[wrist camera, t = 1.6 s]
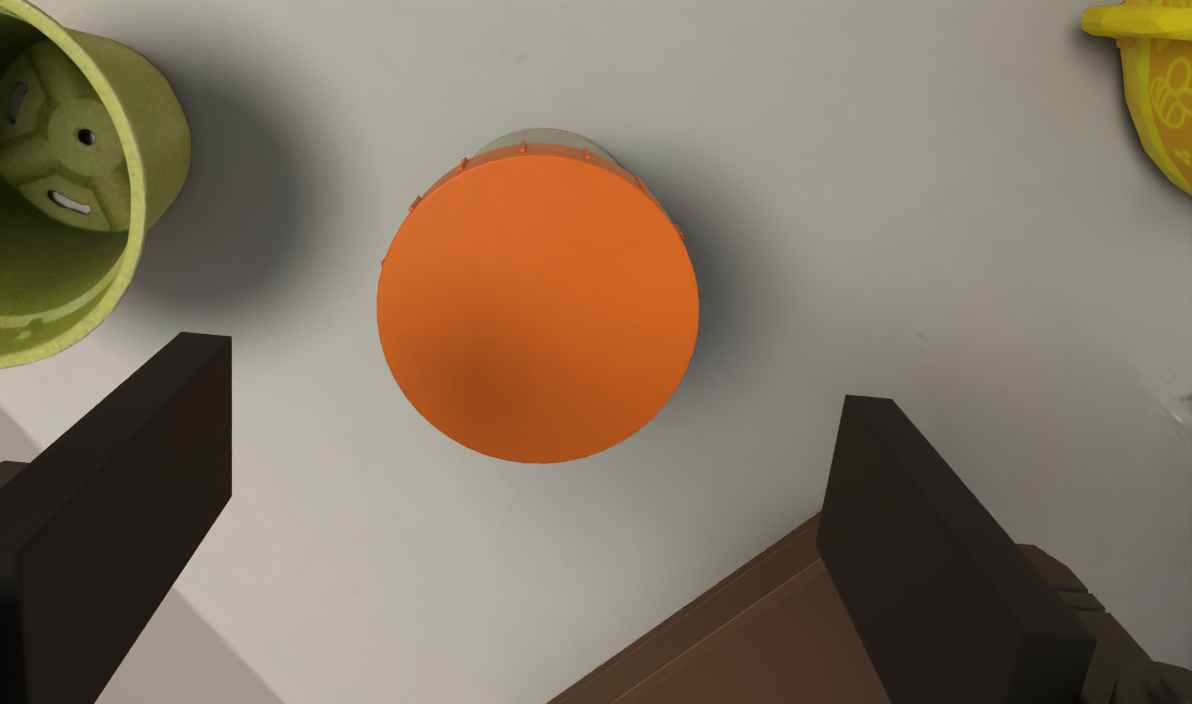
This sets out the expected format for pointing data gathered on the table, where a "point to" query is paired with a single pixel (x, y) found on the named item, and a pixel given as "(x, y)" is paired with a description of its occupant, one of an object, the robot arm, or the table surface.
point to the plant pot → (77, 178)
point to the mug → (1155, 76)
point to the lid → (538, 304)
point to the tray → (748, 642)
